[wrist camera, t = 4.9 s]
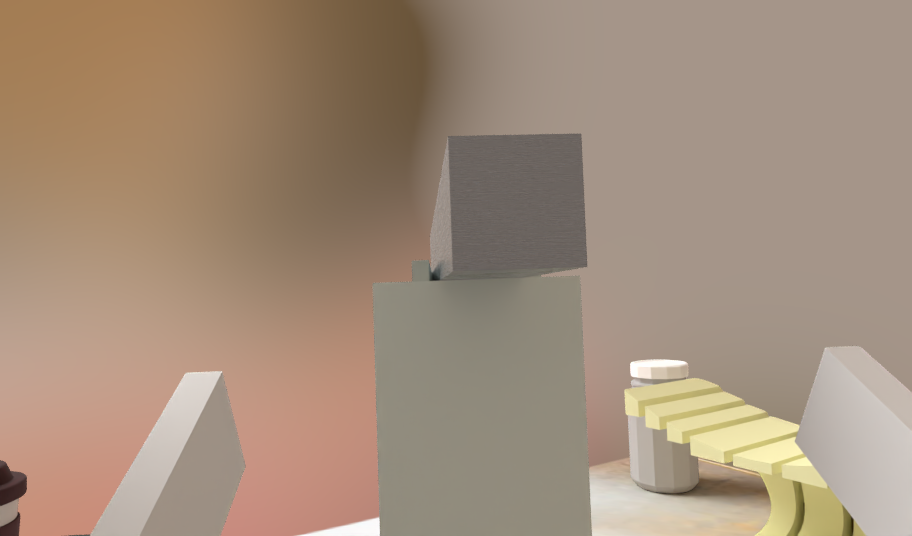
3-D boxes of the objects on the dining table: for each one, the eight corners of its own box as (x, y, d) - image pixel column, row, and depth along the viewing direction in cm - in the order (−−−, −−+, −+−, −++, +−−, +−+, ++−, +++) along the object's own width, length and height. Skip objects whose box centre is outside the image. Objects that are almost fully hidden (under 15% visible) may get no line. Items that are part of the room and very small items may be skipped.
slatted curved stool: (1041, 623, 50) (1025, 409, 50) (966, 697, 41) (947, 439, 42) (719, 516, 75) (711, 375, 76) (632, 548, 67) (624, 389, 68)
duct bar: (587, 266, 18) (581, 133, 18) (452, 271, 17) (447, 136, 18) (481, 284, 47) (479, 235, 48) (431, 286, 47) (430, 236, 47)
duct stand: (609, 925, 27) (579, 255, 29) (391, 940, 27) (372, 262, 28) (546, 692, 43) (528, 269, 45) (409, 700, 43) (396, 274, 44)
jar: (639, 496, 83) (632, 367, 84) (624, 474, 93) (618, 359, 94) (710, 495, 83) (703, 365, 84) (687, 473, 93) (681, 358, 93)
